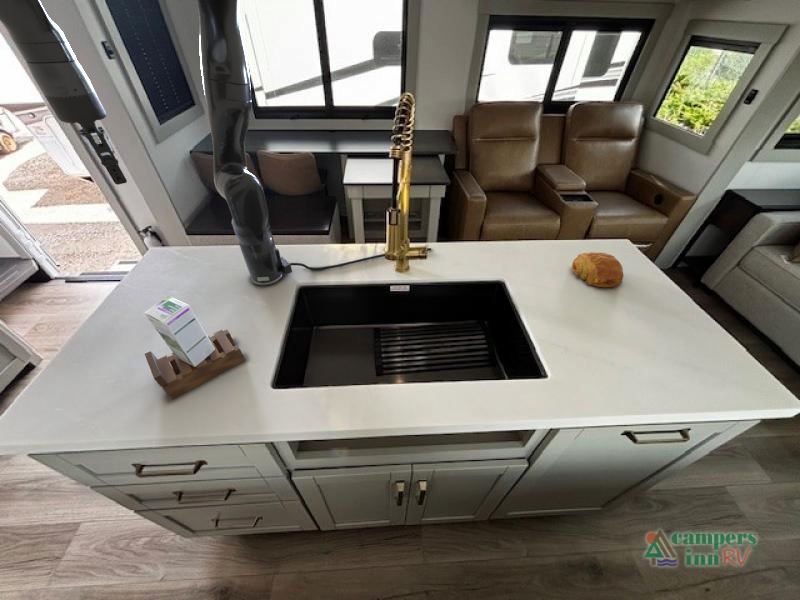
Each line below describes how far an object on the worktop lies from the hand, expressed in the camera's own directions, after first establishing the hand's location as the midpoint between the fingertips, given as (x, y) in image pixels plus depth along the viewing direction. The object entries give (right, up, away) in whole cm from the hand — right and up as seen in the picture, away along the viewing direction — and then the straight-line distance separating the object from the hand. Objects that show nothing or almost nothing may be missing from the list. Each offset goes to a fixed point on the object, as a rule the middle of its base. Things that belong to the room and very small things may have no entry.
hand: (117, 177), depth 71 cm
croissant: (+126, -19, +35) cm, 133 cm away
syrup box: (+17, -39, +1) cm, 43 cm away
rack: (+17, -43, +4) cm, 46 cm away
